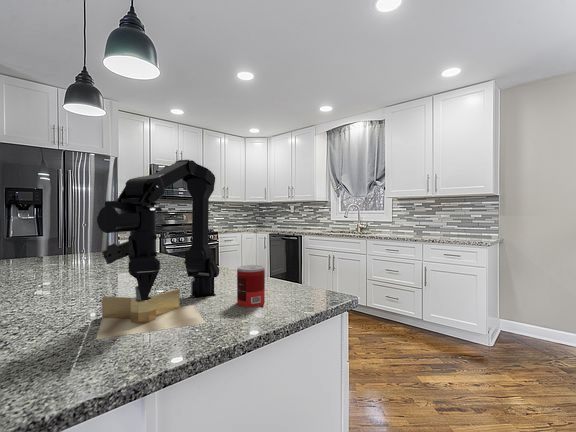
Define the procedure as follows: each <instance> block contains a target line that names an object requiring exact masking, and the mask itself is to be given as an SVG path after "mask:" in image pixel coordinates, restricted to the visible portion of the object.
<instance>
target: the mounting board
mask: <svg viewBox="0 0 576 432" xmlns="http://www.w3.org/2000/svg"><path fill="white" fill-rule="evenodd" d="M100 321H101V322H100V324H99V328H98V332H97V335H96V338H95V340H97V341H98V340H102V339H103V340H105V339H111V338H116V337H123V336H131V335H135V334H143V333H149V332H155V331H156V332H157V331H164V330H169V329H176V328H184V327H191V326H195V325H202V324H207V322H206V321H205V319H204V318H203V316H202V315H201V313H200V312H199V311H198V309H197V307H196V306H195V304H190V305H184V306H183V305H182V306H181V305H180V306H179V308H178V309H175V310H172V311H169V312H166V313H163V314H160V315H157V316H156V319H155V320H153V321H151V322H147V323H140V324H137V323H131V319H117V318H102V317H101V320H100Z"/></svg>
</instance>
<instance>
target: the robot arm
mask: <svg viewBox="0 0 576 432" xmlns="http://www.w3.org/2000/svg"><path fill="white" fill-rule="evenodd" d="M215 176H216V175H215V174H214V173H213V172H212V171H211V170H210V169H209V168H208V167H205V166H203V165H201V164H198V163H196V162H195V161H194V160H192V159H178V160H176V161H175V162H174V163H172V164H170V165H169V166H166V167H164V168H163V169H160V170H159V171H157V172H155V173H152V174H149V175H144V176H137V177H133V178H129V179H128V180H126V182H125V186H124V188H123V189H122V191H121V193H120V194H119V196H118V197H117V199H116V200H105V201H104V206H103V207H102V208H101V209H100V210H99V213H98V215H97V216H96V221H97V222H96V223H97V226H98V228H99V229H100V231H101V232H103V233H105V234H115V233H127V232H129V235H128V240H127V241H124V242H121V243H118V244H117V243H115V242H112V244H108V245H106V248H105V249H102V251H101V253H102V256H103V258H104V261H105V263H106V265H109V264H112V263H114V262H115V261H118V260H121V259H124V258H126V257H128V273H129V275H130V276H131V277H133V278H134V279H136V284H137V286H138V287H139V292H140V296H141V300H142V301H143V300H147V298H148V296H150V293H151V290H152V289H153V286H154V284H155V281H156V279H157V277H158V274H159V272H160V271H161V265H160V264H161V261H160V259H158V255H157V254H158V253H157V252H158V251H157V240H158V235H157V212H162V211H163V209H162V207H161V206H160V205H158V203H157V202H158V201H159V200H160V199H161V198H162V197H163V196H164V195H165V193H166V189H168V187H170V186H172V185H173V184H176V183H177V182H178V181H180V180H181V181H182V182H184V183H185V184H186V190H187V192H188V194H189V195H190V197H191V199H192V201H191V203H192V204H191V205H192V207H191V210H192V211H191V246H190V247H189V249H187V250H185V252H184V264H185V265H184V266H185V271H186V273H187V277H189V278H191V277H192V280H191V281H190V294H191V296H192V297H193V298H194V299H201V298H202V299H203V298H208V297H216V296H217V295H216V293H215V278H217V277H219V275H220V270H221V269H220V267H219V266H218V265H217V263H216V261H215V258H214V257H215V256H214V252H213V249H212V248H211V247H210V245H209V210H210V208H209V207H210V206H209V205H210V203H209V202H210V201H209V199H210V197H211V196H212V194H213V193H214V190H215V184H216V177H215Z"/></svg>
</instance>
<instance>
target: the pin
mask: <svg viewBox="0 0 576 432" xmlns="http://www.w3.org/2000/svg"><path fill="white" fill-rule="evenodd" d="M134 287H135V297H136V300H137V301H142V300H141V296H140V292H139V287H138V285H136V286H134ZM143 301H144V300H143Z"/></svg>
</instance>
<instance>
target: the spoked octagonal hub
mask: <svg viewBox="0 0 576 432" xmlns="http://www.w3.org/2000/svg"><path fill="white" fill-rule="evenodd" d="M101 300H102V301H101V302H102V303H101V305H102V306H101V307H102V308H101V309H102V310H101V311H102V313H101V314H102V315H101V316H102V317H101V319H102V318H117V319H131V323H137V324H140V323H147V322H151V321H153V320H155V319H156V316H157V315H160V314H163V313H166V312H169V311H172V310H175V309H178V308H179V307H180V289H179V288H176V289H173V290H169V291H165V292H162V293H158V294H154V295H149V296H148V298H147V300H144V301H137V300H136V296H135V297H127V296H126V297H125V296H124V297H123V296H102V297H101Z"/></svg>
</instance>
